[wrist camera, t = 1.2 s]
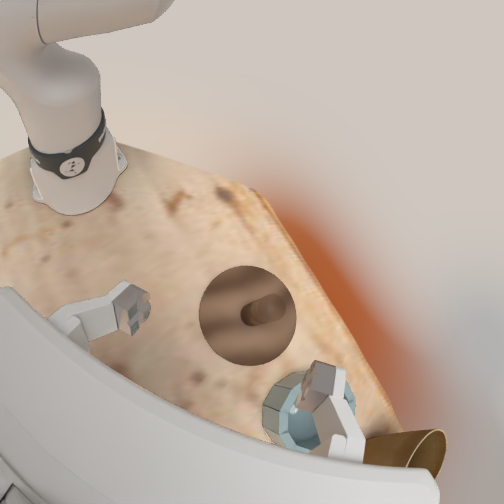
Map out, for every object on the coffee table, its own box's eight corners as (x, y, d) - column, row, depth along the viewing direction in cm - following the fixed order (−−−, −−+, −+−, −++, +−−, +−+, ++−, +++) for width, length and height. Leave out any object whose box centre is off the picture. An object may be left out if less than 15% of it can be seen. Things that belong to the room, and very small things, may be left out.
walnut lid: (181, 291, 41) (190, 276, 33) (265, 254, 48) (290, 233, 40) (229, 383, 38) (251, 391, 30) (307, 334, 46) (340, 329, 38)
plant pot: (350, 494, 36) (405, 516, 22) (330, 451, 39) (392, 473, 25) (396, 452, 43) (450, 461, 29) (381, 408, 45) (443, 412, 31)
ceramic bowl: (247, 401, 38) (262, 408, 33) (314, 357, 44) (335, 356, 39) (285, 460, 36) (303, 472, 31) (343, 415, 42) (365, 419, 37)
